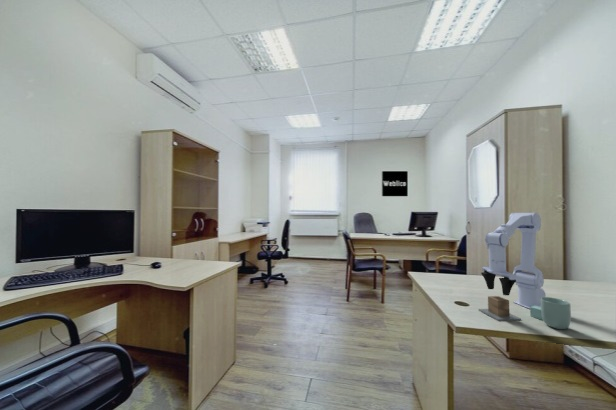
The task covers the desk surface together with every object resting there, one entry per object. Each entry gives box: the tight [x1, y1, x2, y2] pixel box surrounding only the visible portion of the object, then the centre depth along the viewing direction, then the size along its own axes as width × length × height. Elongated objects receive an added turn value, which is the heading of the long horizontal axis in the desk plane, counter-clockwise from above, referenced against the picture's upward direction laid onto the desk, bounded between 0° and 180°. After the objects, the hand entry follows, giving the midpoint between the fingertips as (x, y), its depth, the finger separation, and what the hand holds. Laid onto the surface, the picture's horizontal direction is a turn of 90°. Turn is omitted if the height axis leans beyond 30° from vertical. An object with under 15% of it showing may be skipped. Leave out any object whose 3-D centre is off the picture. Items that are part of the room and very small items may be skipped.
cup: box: [541, 296, 572, 330], centre depth 89 cm, size 8×8×10 cm
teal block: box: [529, 306, 543, 321], centre depth 97 cm, size 4×4×4 cm
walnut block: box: [487, 295, 511, 316], centre depth 100 cm, size 5×5×6 cm
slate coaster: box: [478, 308, 522, 322], centre depth 100 cm, size 10×10×1 cm
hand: (498, 291), depth 100 cm, fingers open, 7 cm apart
